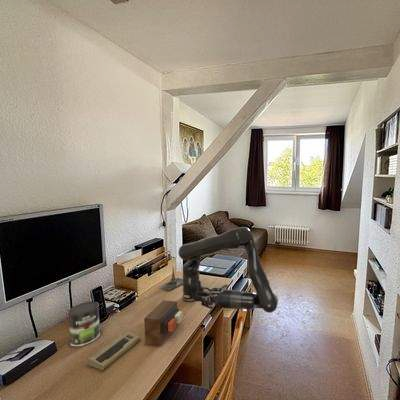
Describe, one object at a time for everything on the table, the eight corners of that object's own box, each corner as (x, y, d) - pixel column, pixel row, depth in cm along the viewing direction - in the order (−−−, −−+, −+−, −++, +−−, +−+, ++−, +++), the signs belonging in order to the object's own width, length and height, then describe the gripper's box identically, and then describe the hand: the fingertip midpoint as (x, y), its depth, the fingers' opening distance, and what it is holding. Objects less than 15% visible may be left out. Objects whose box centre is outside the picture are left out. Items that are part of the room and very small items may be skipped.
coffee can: (102, 337, 97) (101, 307, 96) (71, 350, 90) (69, 318, 88) (97, 326, 104) (96, 298, 103) (68, 338, 97) (66, 307, 95)
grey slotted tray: (103, 371, 80) (103, 363, 80) (87, 365, 83) (87, 357, 82) (139, 341, 95) (139, 334, 95) (125, 337, 98) (125, 330, 97)
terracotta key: (167, 331, 94) (167, 323, 94) (172, 325, 98) (172, 318, 98) (172, 331, 94) (172, 323, 94) (176, 326, 98) (176, 318, 97)
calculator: (108, 293, 127) (124, 297, 121) (108, 300, 128) (125, 305, 122) (86, 302, 118) (103, 308, 111) (87, 310, 118) (103, 316, 112)
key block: (145, 344, 94) (144, 318, 92) (164, 323, 107) (163, 300, 106) (164, 346, 92) (163, 320, 91) (181, 325, 106) (180, 301, 105)
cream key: (174, 323, 100) (174, 315, 99) (178, 318, 103) (178, 311, 103) (178, 323, 100) (178, 316, 99) (182, 318, 103) (182, 311, 103)
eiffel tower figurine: (169, 291, 138) (169, 271, 136) (158, 287, 142) (158, 267, 141) (187, 281, 151) (187, 262, 150) (177, 278, 155) (177, 260, 154)
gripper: (237, 283, 104) (202, 281, 106) (228, 299, 90) (188, 296, 92) (237, 298, 104) (202, 295, 107) (228, 316, 91) (188, 313, 93)
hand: (196, 296), depth 99 cm, fingers open, 3 cm apart
